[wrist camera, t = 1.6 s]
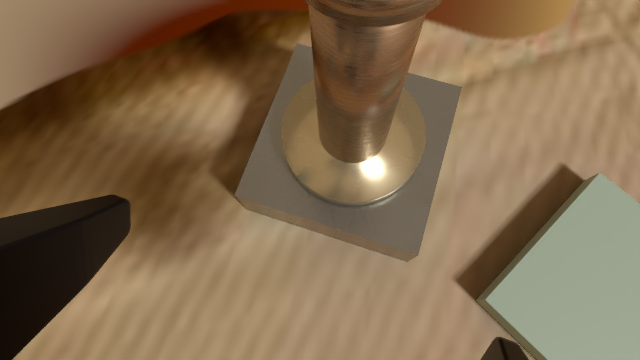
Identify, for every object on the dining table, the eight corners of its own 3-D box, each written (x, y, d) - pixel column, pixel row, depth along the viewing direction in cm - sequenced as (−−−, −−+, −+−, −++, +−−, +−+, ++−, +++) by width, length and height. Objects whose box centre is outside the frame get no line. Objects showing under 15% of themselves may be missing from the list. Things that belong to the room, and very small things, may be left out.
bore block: (407, 261, 23) (418, 255, 20) (245, 209, 24) (234, 195, 21) (447, 111, 26) (461, 87, 23) (300, 71, 27) (296, 43, 24)
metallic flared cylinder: (427, 203, 23) (590, 20, 9) (299, 227, 23) (239, 82, 8) (396, 91, 26) (481, -206, 11) (279, 112, 26) (205, -162, 11)
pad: (634, 454, 20) (658, 465, 18) (475, 300, 22) (485, 299, 21) (742, 307, 22) (770, 307, 20) (584, 180, 24) (600, 172, 23)
